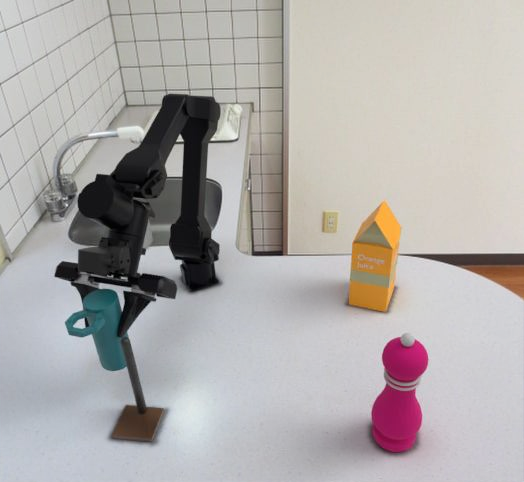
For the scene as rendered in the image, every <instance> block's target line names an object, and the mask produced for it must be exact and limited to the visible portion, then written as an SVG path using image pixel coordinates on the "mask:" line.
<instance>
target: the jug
mask: <svg viewBox="0 0 524 482" xmlns="http://www.w3.org/2000/svg"><path fill="white" fill-rule="evenodd" d="M83 307H84V310H83V309H82V310H78V311H76V312H73V313H72V314H71V315H70V316H69V317H68V318H67V319H66V320H65V321H64V325H65V328H66V331H67V333H68V336H72V337H76V338H86V337H88V336H92V340H93V343H94V347H95V350H96V353H97V355H98V359H99V364H100V366H101V367H102V369H104V370H106V371H108V372H117V371H122V370H123V369H125V368H127V366H126V362H125V359H124V355H123V351H122V347H121V343H120V341H121V339H122V338H119V337H117V333H118V327H119V323H120V319H121V315H122V311H123V308H122V306H121V302H120V297H119V294H118V292H117V291H116V290H114V289H110V288H99V290H96V291H93V292H91V293H89V294H88V295H87V296H85V298H84V299H83V304H82V308H83ZM86 317H87V320H88V323H89V327H86V328H85V327H83V328H80V327H75V324H77V322H79V320H83V319H84V318H86ZM124 337H127V338H129V339H130V337H129V334H128V331H127V332H126V334H125V335H124V336H123V338H124Z"/></svg>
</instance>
